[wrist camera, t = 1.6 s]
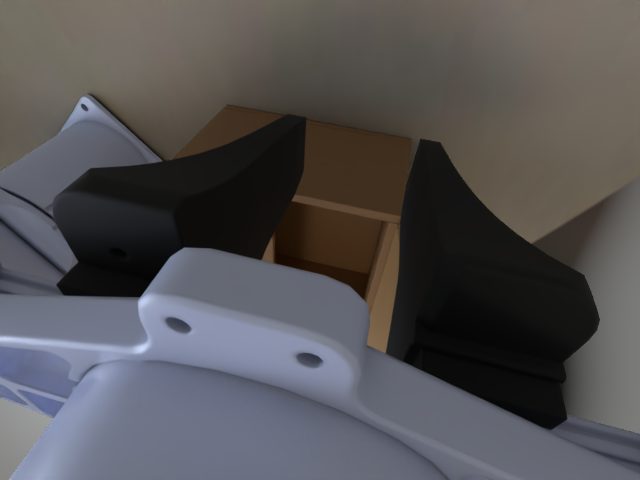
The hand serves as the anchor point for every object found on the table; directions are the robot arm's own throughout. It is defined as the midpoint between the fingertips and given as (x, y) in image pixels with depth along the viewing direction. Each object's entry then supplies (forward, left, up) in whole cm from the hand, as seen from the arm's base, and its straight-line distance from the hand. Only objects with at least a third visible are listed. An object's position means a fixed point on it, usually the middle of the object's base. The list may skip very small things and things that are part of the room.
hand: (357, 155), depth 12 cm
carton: (-10, -5, -10) cm, 16 cm away
